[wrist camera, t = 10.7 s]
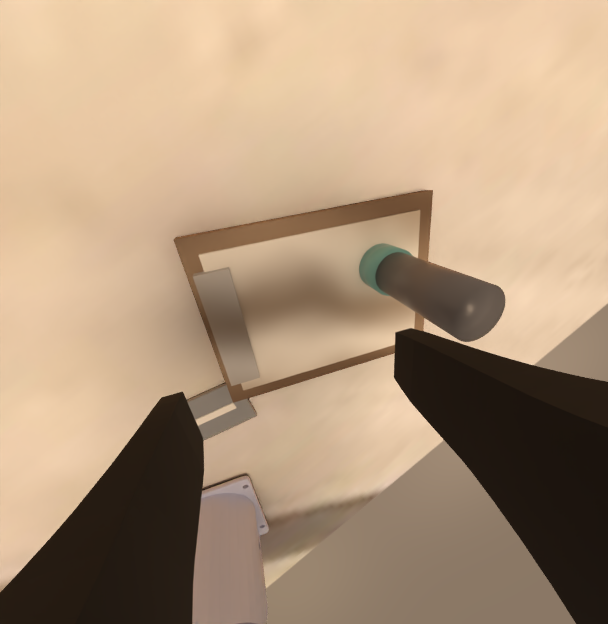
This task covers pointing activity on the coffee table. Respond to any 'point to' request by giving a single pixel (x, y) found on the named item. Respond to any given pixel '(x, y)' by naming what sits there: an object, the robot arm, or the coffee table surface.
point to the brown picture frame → (302, 291)
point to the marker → (434, 291)
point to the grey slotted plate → (219, 411)
